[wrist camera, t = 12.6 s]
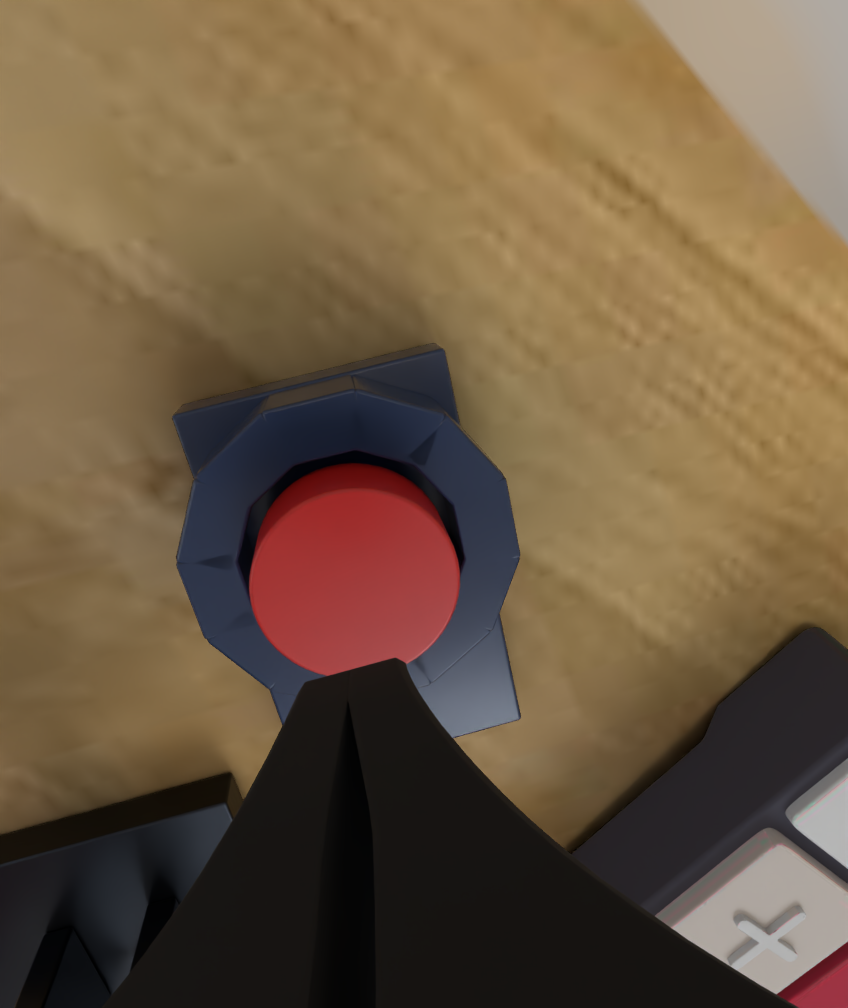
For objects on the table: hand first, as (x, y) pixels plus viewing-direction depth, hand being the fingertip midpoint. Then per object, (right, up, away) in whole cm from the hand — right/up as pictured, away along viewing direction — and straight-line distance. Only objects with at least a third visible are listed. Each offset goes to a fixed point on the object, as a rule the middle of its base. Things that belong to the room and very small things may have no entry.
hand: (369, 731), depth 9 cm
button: (-1, +2, +6) cm, 6 cm away
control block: (-1, +1, +9) cm, 9 cm away
